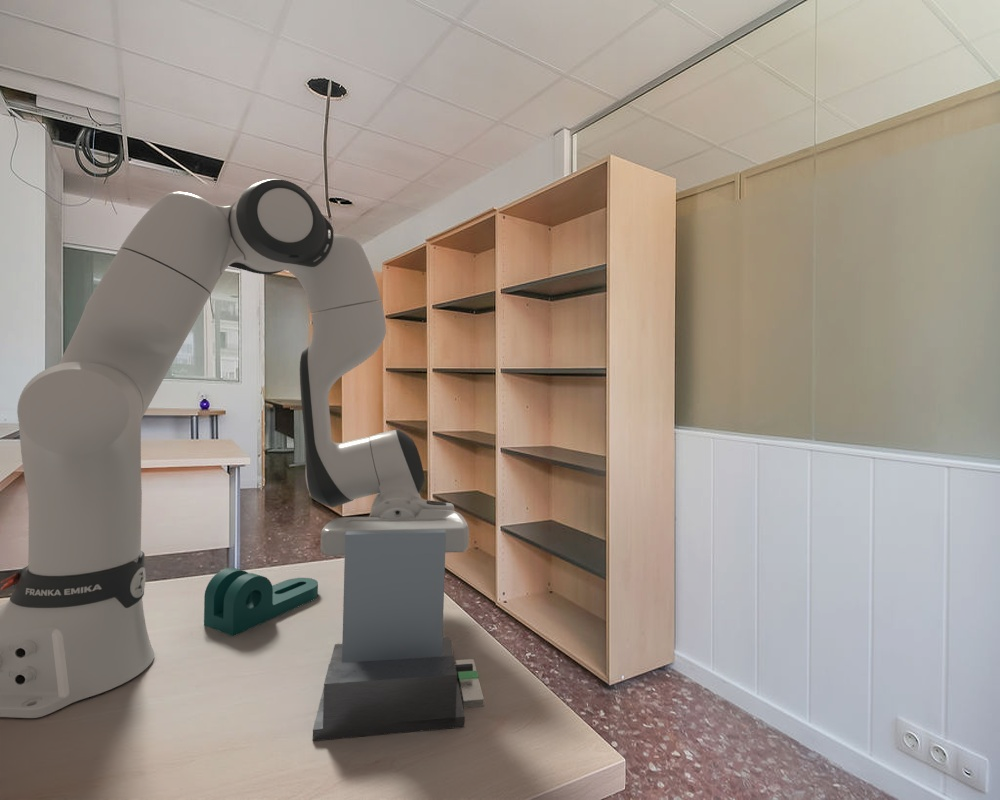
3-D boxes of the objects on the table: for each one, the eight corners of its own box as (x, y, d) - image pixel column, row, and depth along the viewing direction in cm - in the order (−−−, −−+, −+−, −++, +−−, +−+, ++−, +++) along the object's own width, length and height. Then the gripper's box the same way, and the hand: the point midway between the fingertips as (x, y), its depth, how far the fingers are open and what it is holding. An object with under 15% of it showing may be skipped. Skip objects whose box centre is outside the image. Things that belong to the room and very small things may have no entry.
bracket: (232, 637, 76) (233, 584, 75) (203, 626, 79) (204, 575, 78) (326, 595, 92) (327, 551, 91) (298, 587, 95) (299, 544, 94)
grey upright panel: (341, 682, 62) (345, 534, 62) (342, 675, 64) (346, 531, 63) (473, 673, 65) (477, 532, 65) (471, 667, 67) (476, 528, 66)
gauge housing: (312, 741, 54) (313, 684, 54) (334, 652, 72) (335, 610, 72) (488, 725, 58) (490, 672, 58) (468, 644, 75) (469, 604, 75)
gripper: (327, 504, 78) (311, 530, 64) (462, 502, 82) (474, 527, 68) (326, 546, 78) (310, 580, 64) (461, 542, 82) (473, 574, 68)
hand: (396, 553), depth 66 cm, fingers closed
